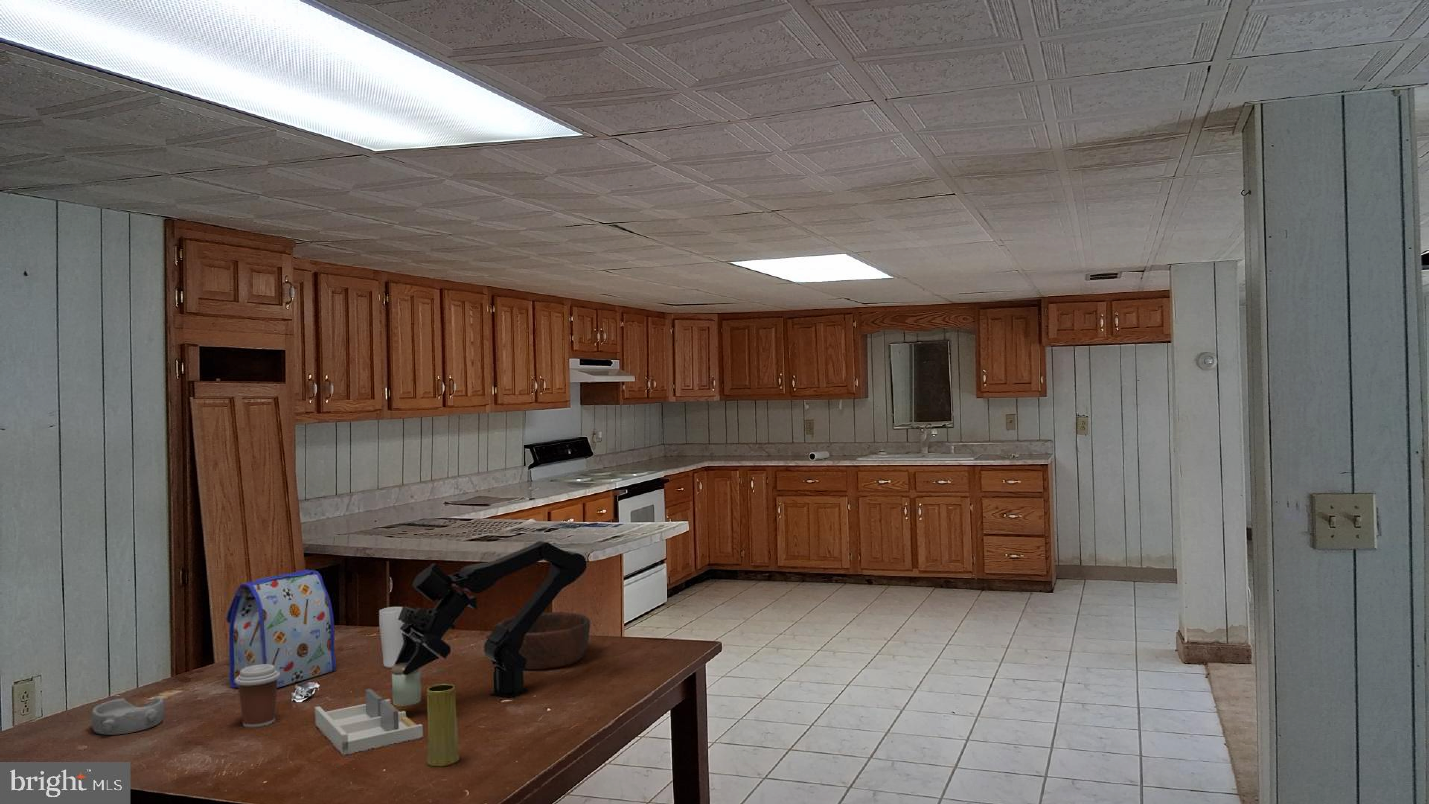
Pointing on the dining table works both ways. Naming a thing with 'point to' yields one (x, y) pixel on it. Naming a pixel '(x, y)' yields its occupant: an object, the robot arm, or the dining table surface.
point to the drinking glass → (390, 634)
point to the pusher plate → (372, 703)
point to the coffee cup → (258, 694)
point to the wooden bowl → (554, 640)
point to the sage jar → (405, 686)
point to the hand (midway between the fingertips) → (399, 671)
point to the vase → (442, 725)
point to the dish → (126, 716)
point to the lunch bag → (282, 627)
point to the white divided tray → (366, 727)
